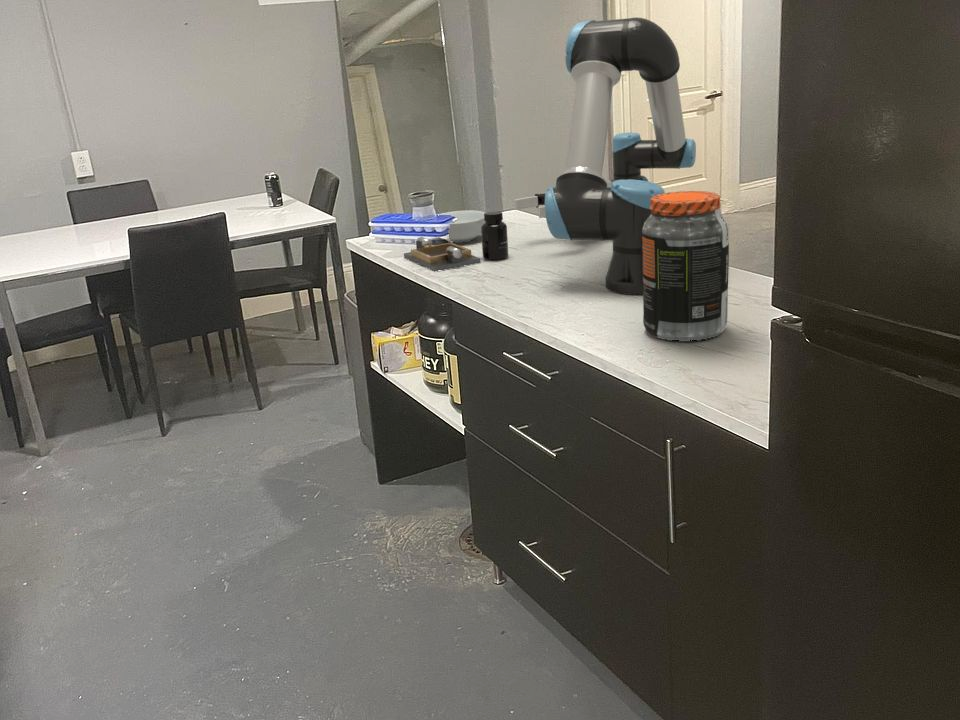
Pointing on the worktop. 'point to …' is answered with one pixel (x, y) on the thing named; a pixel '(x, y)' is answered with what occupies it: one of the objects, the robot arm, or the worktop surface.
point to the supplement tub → (685, 266)
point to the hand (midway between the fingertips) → (527, 208)
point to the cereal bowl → (465, 225)
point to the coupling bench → (440, 255)
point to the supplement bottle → (494, 237)
